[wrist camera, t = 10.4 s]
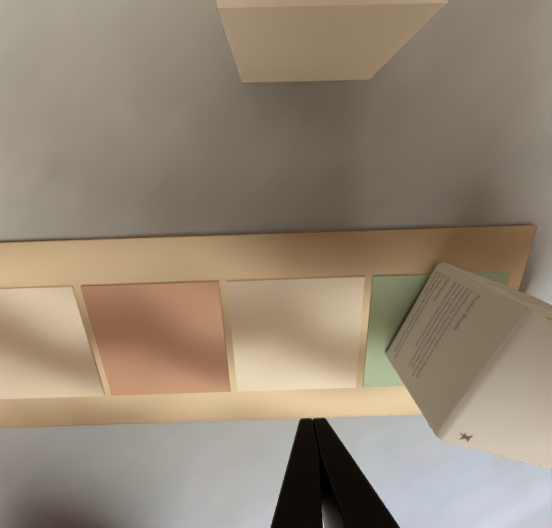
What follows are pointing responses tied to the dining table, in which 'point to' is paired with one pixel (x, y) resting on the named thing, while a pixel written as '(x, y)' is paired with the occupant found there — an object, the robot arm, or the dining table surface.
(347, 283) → the game board
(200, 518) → the dining table surface
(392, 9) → the die
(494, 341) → the small box
